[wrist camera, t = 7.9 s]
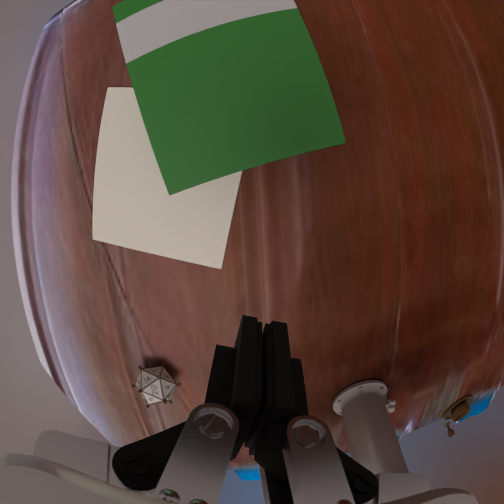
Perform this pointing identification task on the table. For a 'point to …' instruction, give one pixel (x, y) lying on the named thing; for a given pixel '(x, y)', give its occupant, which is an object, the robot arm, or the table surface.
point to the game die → (155, 385)
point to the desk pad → (154, 194)
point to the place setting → (457, 412)
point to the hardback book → (225, 85)
